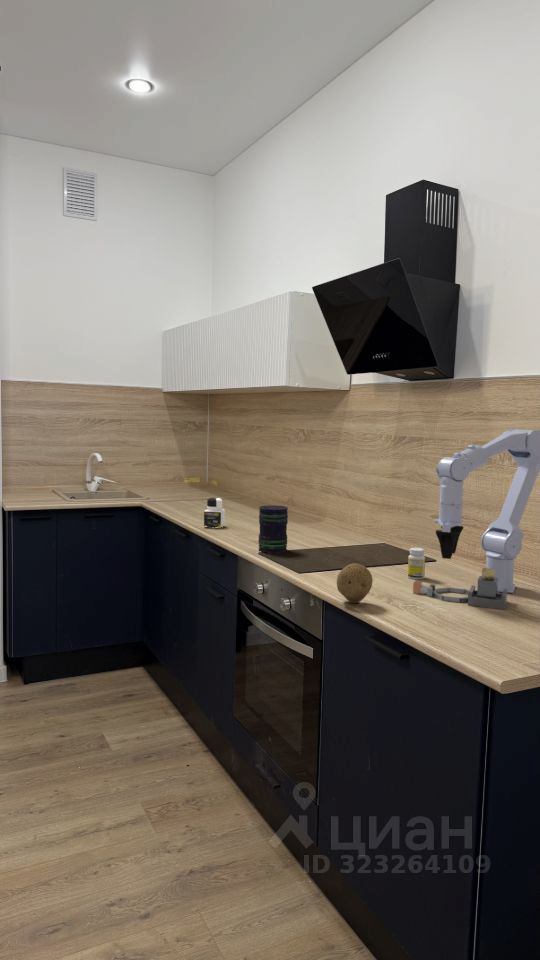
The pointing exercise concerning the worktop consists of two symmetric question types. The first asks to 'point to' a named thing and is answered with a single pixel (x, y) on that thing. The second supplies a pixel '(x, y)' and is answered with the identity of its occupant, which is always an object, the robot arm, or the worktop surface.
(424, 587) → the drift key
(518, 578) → the worktop surface
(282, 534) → the storage jar
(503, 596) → the rack
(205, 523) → the medicine bottle
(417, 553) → the supplement bottle
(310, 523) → the worktop surface
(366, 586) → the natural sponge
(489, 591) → the gold-capped square jar
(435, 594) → the socket
